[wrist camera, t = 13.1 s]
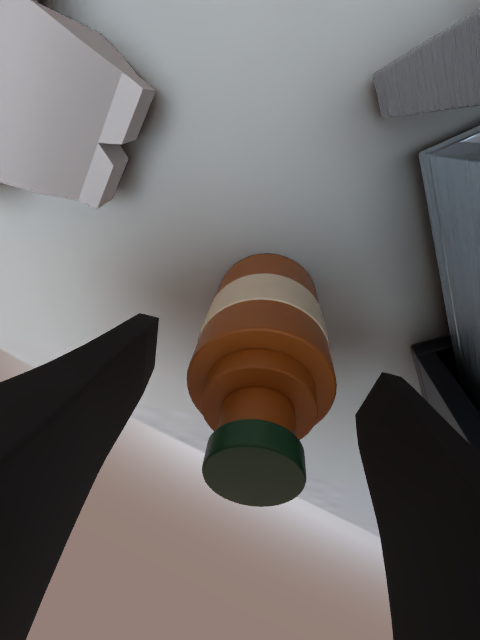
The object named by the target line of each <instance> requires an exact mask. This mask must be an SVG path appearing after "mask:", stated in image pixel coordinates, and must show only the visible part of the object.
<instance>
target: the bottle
mask: <svg viewBox="0 0 480 640" xmlns="http://www.w3.org/2000/svg"><path fill="white" fill-rule="evenodd" d="M187 387H188V391H189V394H190V397H191V399H192V401H193V403H194V404H195V406H196V408H197V409H198V410H199V411H200V413H201V414H202V415H203V416H204V419H205V420H206V422H207V424H208V425H209V426H210V427H211V429H213V430H214V432H213V434H212V435H211V436H210V438H209V440H208V444H207V448H206V452H205V457H204V461H203V466H202V473H203V477H204V480H205V482H206V483H207V485H208V486H209V487H210V488H211V489H212V490H213V491H214V492H215V493H217V494H219V495H220V496H222V497H223V498H225V499H228V500H230V501H233V502H236V503H239V504H243V505H249V506H260V507H262V506H274V505H279V504H282V503H285V502H288V501H290V500H292V499H294V498H295V497H297V496H298V495H299V494H300V493H301V492H302V490H303V488H304V486H305V483H306V468H305V456H304V449H303V446H302V444H301V442H300V441H299V440H300V439H302V438H303V437H304V436H305V435H307V434H308V433H309V432H310V430H311V429H312V428H313V426H314V425H316V424H317V423H318V422H319V421H321V420H322V419H323V418H324V417H325V415H326V414H327V413H328V411H329V410H330V408H331V406H332V404H333V402H334V399H335V395H336V387H337V384H336V376H335V372H334V368H333V363H332V359H331V355H330V343H329V339H328V335H327V331H326V327H325V322H324V318H323V314H322V311H321V308H320V306H319V303H318V299H317V294H316V290H315V286H314V283H313V281H312V279H311V277H310V276H309V274H308V273H307V272H306V271H305V269H304V268H303V267H301V266H300V265H299V264H298V263H296V262H295V261H293V260H291V259H289V258H287V257H284V256H280V255H275V254H258V255H253V256H250V257H247V258H245V259H243V260H241V261H239V262H237V263H236V264H235V265H233V266H232V267H231V268H230V269H229V270H228V271H227V273H226V274H225V276H224V277H223V279H222V281H221V283H220V286H219V289H218V291H217V294H216V296H215V298H214V300H213V301H212V304H211V306H210V308H209V311H208V313H207V316H206V319H205V321H204V324H203V326H202V329H201V331H200V334H199V338H198V343H197V346H196V348H195V351H194V354H193V356H192V359H191V361H190V364H189V368H188V371H187Z"/></svg>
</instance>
